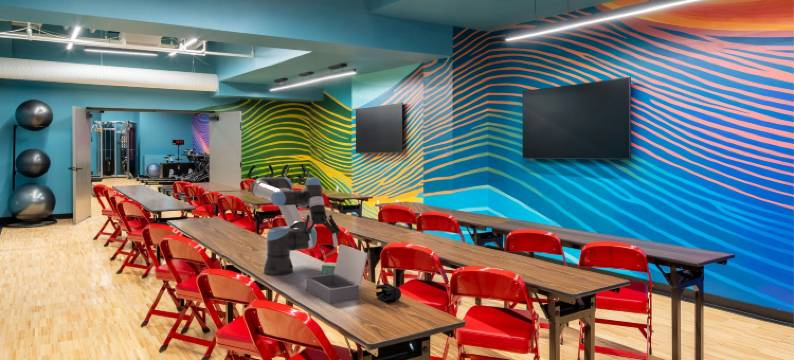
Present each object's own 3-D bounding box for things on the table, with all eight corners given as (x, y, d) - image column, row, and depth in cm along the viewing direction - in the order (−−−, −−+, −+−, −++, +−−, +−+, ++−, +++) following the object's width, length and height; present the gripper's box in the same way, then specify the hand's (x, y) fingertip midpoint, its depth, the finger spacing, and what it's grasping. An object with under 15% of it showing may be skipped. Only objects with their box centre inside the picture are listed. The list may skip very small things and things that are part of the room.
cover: (340, 244, 238) (341, 244, 238) (333, 273, 237) (335, 273, 237) (366, 253, 218) (367, 253, 219) (359, 284, 217) (360, 285, 217)
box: (347, 281, 246) (347, 266, 246) (321, 279, 249) (321, 265, 249) (351, 278, 254) (351, 263, 253) (326, 276, 256) (326, 262, 256)
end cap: (401, 302, 214) (401, 286, 214) (387, 304, 210) (387, 288, 210) (389, 296, 222) (389, 281, 222) (375, 298, 219) (375, 283, 218)
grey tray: (306, 290, 229) (306, 277, 229) (333, 286, 237) (333, 273, 237) (329, 304, 210) (329, 289, 209) (358, 299, 217) (359, 285, 217)
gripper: (296, 203, 244) (303, 245, 236) (342, 204, 258) (349, 243, 250) (291, 209, 250) (297, 250, 242) (335, 209, 264) (342, 248, 256)
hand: (323, 246), depth 246 cm, fingers open, 13 cm apart
